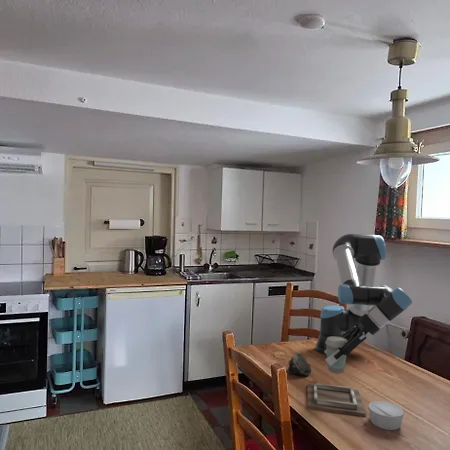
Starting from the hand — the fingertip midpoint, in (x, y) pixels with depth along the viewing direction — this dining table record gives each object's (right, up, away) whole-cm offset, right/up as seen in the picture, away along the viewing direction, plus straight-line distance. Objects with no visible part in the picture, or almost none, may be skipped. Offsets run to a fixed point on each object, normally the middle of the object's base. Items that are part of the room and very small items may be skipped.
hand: (327, 358), depth 151 cm
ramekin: (+16, -17, -16) cm, 28 cm away
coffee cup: (+3, -5, -1) cm, 6 cm away
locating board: (+3, -16, 0) cm, 16 cm away
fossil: (-6, -15, +25) cm, 30 cm away
